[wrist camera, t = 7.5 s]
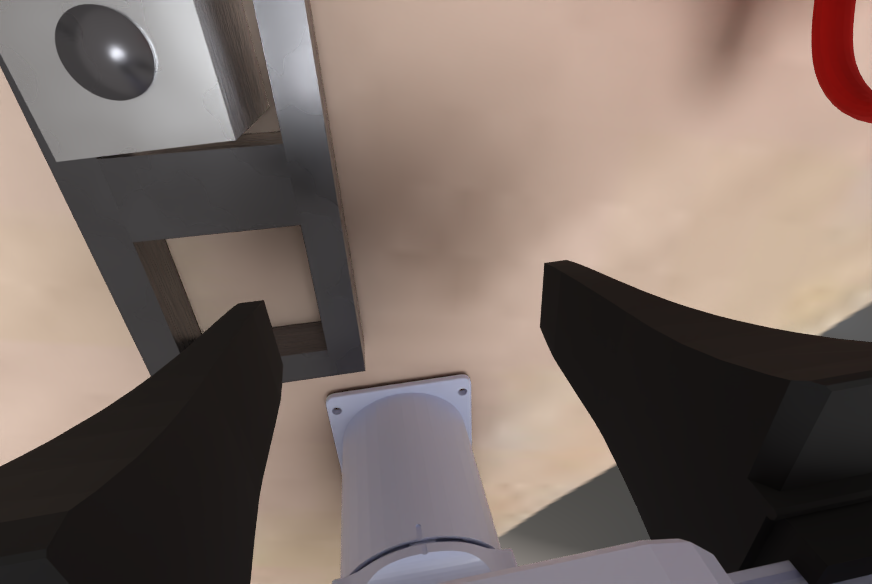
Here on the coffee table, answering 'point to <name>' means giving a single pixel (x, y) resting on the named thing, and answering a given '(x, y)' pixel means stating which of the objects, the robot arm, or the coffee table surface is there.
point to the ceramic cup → (839, 58)
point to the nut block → (132, 72)
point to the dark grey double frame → (225, 210)
